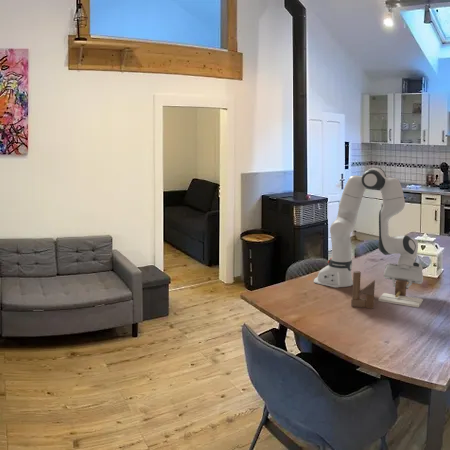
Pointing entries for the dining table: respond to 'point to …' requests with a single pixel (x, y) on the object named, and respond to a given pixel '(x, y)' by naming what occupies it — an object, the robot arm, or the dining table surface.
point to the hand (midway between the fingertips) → (400, 287)
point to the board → (401, 300)
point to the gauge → (400, 288)
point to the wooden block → (367, 290)
